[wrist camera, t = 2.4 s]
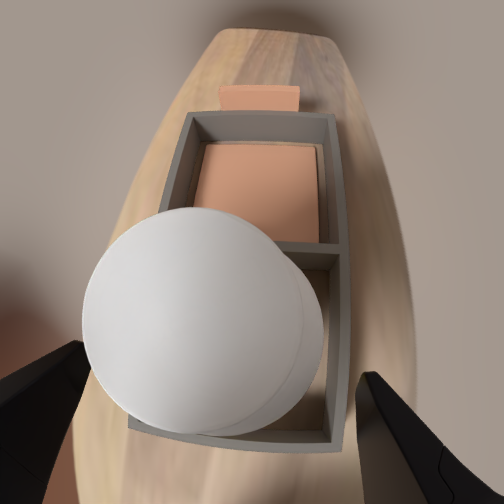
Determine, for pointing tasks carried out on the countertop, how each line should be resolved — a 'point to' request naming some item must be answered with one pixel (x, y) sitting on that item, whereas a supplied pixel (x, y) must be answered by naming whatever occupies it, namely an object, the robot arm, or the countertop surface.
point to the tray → (274, 225)
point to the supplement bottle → (201, 324)
